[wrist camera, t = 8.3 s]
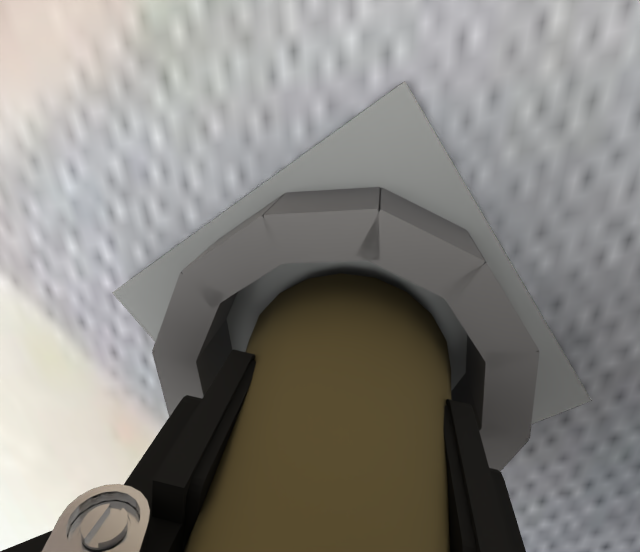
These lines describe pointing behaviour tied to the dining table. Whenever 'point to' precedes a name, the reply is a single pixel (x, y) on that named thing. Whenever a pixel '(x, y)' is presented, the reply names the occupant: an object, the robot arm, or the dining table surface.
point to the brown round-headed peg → (336, 428)
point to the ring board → (363, 271)
